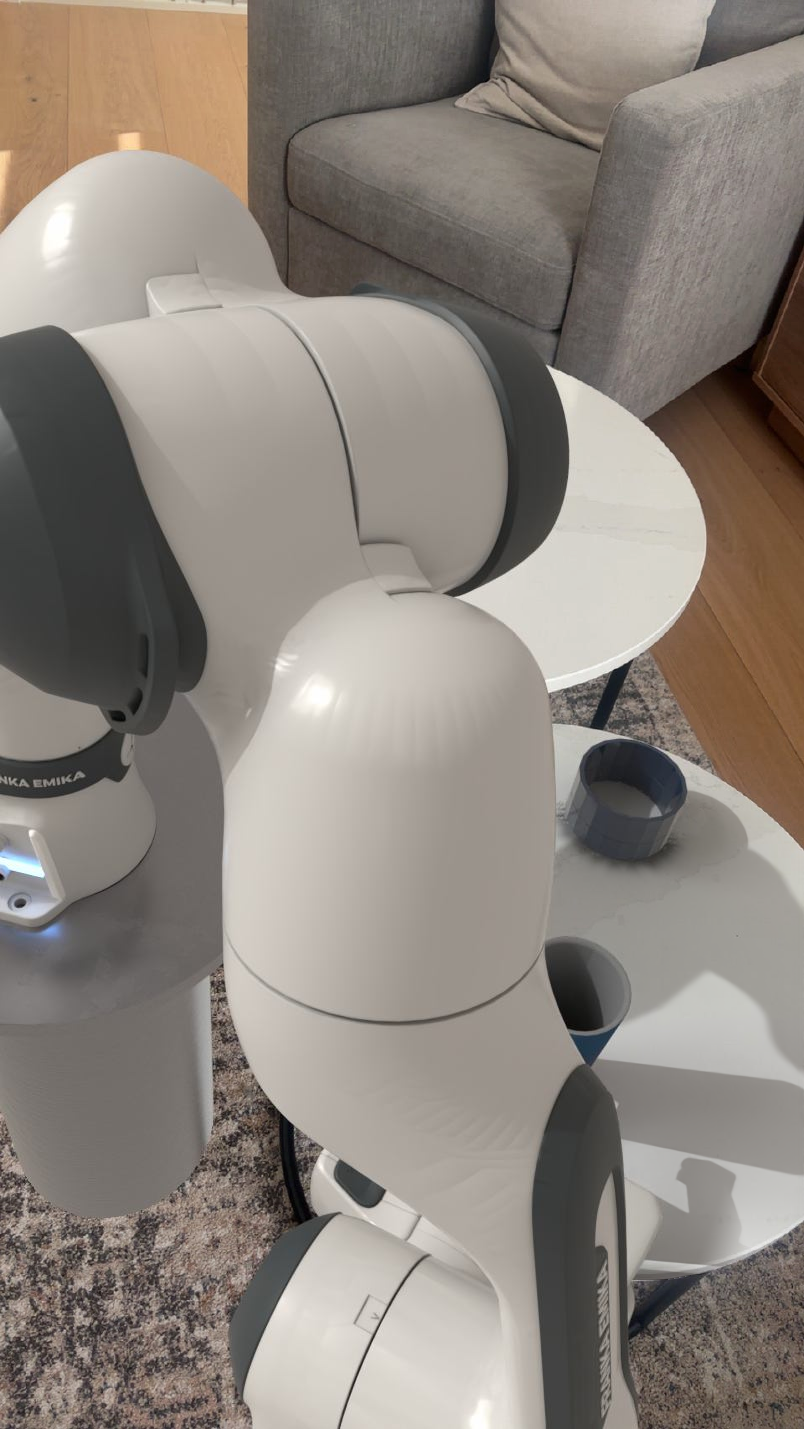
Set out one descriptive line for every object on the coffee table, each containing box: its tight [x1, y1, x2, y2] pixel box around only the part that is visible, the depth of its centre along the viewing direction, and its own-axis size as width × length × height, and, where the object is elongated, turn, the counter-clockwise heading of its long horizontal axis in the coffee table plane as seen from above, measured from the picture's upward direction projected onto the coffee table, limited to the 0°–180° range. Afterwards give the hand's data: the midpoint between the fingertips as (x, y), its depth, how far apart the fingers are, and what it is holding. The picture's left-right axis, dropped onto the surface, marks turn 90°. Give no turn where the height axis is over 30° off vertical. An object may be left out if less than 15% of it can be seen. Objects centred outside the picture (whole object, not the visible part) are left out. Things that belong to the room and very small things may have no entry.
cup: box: [545, 935, 632, 1068], centre depth 72 cm, size 7×7×15 cm
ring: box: [565, 738, 688, 862], centre depth 93 cm, size 9×9×6 cm
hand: (538, 1063), depth 70 cm, fingers open, 8 cm apart
